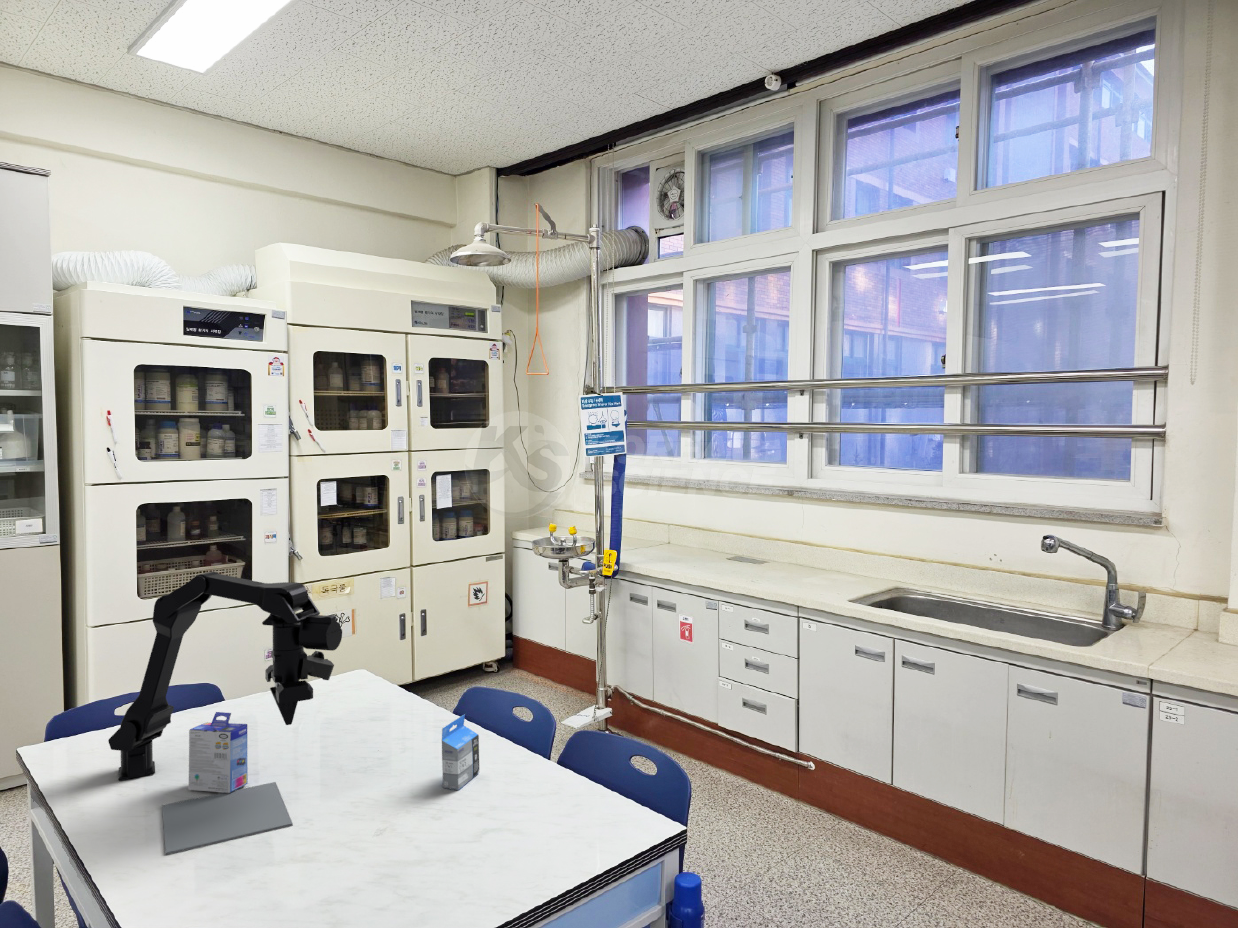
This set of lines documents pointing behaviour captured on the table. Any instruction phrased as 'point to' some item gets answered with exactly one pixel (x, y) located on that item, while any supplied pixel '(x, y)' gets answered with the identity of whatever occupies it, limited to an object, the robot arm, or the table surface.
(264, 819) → the charcoal mat
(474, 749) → the label tape box
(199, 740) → the ink cartridge box
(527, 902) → the table surface
